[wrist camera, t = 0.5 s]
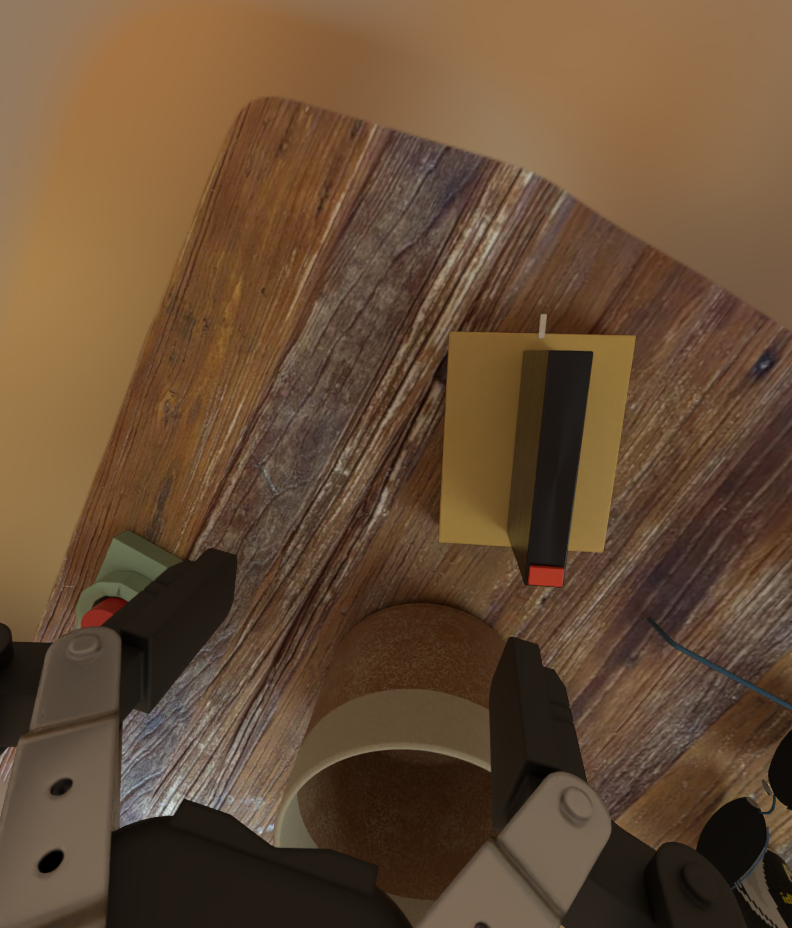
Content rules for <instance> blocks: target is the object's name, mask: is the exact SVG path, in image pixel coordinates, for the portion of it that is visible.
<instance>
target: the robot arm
mask: <svg viewBox="0 0 792 928" xmlns="http://www.w3.org/2000/svg"><path fill="white" fill-rule="evenodd" d="M236 570H237V556H236V555H234V554H231V553H228V552H224V551H221V550H217V549H214V548H209V549H208V550H206V551H205V552H204V553H203V554H202V555H201V556H200V557H199V558H198V559H197V560H196V561H194V562H193V561H190V560H185V561H182V562H180V563H178V564H175V565H173V566H171V567H168V568H167V569H166V570H165V571H164V572H163V573H161V574H160V575H159V576H158V577H157V578H156V579H155V581H152V582H151V583H150V584H149V585H147V586H146V587H145V588H144V590H143V591H140V592H139V593H138V594H137V595H136V596H135V597H133V598H132V599H131V600H130V601H129V602H128V603H126V604H125V605H124V606H123V607H122V608H121V609H119V610H118V611H117V612H116V613H115V614H114V615H112V616H111V617H110V618H109V619H108V620H107V621H105V622H104V623H103V624H102V625H101V626H91V627H84V628H80V629H76V630H74V631H71V632H69V633H67V634H65V635H63V636H61V637H60V638H58V639H57V640H56V641H55V642H54V643H38V642H12V634H11V630H10V629H9V627H8V626H6V625H5V624H2V623H0V755H1V754H2V753H3V752H4V751H5V750H6V749H7V748H8V747H17V749H16V753H15V757H14V762H13V766H12V770H11V774H10V778H9V783H8V787H7V791H6V795H5V800H4V804H3V808H2V812H1V817H0V928H559V927H560V926H561V925H562V926H564V927H565V928H747V925H746V922H745V920H744V917H743V915H742V912H741V910H740V907H739V905H738V902H737V900H736V897H735V895H734V893H733V891H732V890H731V888H730V886H729V885H728V883H727V882H726V880H725V879H724V877H723V876H722V875H721V874H720V872H719V871H718V870H717V869H716V868H715V867H714V866H713V865H712V864H711V863H710V862H709V861H708V860H707V859H706V858H705V857H704V856H702V855H701V854H700V853H698V852H697V851H695V850H694V849H692V848H690V847H688V846H686V845H684V844H681V843H678V842H666V843H664V844H662V845H661V846H660V847H659V849H658V850H657V851H656V850H654V849H653V848H651V847H650V846H648V845H647V844H645V843H643V842H642V841H640V840H639V839H637V838H636V837H634V836H633V835H631V834H630V833H628V832H626V831H625V830H624V829H622V828H621V827H619V826H618V825H617V824H616V823H615V822H613V821H612V820H611V819H610V815H609V813H608V810H607V808H606V806H605V804H604V802H603V801H602V799H601V798H600V796H599V795H598V794H597V793H596V791H595V790H594V789H593V788H592V787H591V786H590V785H589V784H588V783H587V779H586V775H585V770H584V766H583V762H582V757H581V753H580V748H579V744H578V740H577V735H576V731H575V727H574V724H573V718H572V714H571V709H569V706H570V705H569V700H568V696H567V692H566V687H565V686H564V684H563V683H562V681H561V680H560V678H559V676H558V675H557V673H556V672H555V670H554V669H550V668H547V667H544V666H542V660H541V655H540V649H539V646H538V644H535V643H532V642H528V641H525V640H521V639H518V638H515V637H509V639H508V640H507V642H506V645H505V648H504V650H503V653H502V655H501V658H500V660H499V663H498V665H497V668H496V670H495V673H494V675H493V678H492V682H491V686H490V693H489V724H490V759H491V794H492V828H493V829H494V830H497V831H500V833H499V835H498V836H497V837H496V838H495V837H494V836H491V837H490V838H489V839H488V840H487V841H486V842H485V843H484V844H483V845H482V847H481V848H480V849H479V850H478V851H477V853H476V854H475V855H474V856H473V857H472V859H471V860H470V861H469V862H468V863H467V864H466V866H465V867H464V868H463V869H462V870H461V872H460V873H459V874H458V875H457V876H456V878H455V879H454V880H453V881H452V882H451V883H450V885H449V886H448V887H447V888H446V889H445V891H444V892H443V893H442V894H441V895H440V897H439V898H438V899H437V900H436V901H435V902H434V904H433V905H432V906H431V907H430V908H429V910H428V911H427V912H426V913H425V914H424V916H423V917H422V918H421V919H420V920H419V922H418V923H417V924H416V925H415V926H414V927H412V925H411V923H410V922H409V920H408V919H407V917H406V916H405V914H404V913H403V911H402V910H401V909H400V908H399V906H398V905H397V904H396V903H395V902H394V901H393V900H392V899H391V898H390V897H389V896H388V895H387V894H386V893H385V892H384V891H383V890H382V889H380V888H379V887H378V886H376V879H377V874H378V868H379V866H378V865H375V864H372V863H370V862H367V861H364V860H361V859H358V858H355V857H352V856H349V855H346V854H343V853H340V852H338V851H335V850H332V849H320V848H280V847H274V846H272V845H270V844H269V843H267V842H266V841H265V840H263V839H262V838H261V837H259V836H258V835H257V834H255V833H254V832H253V831H251V830H250V829H249V828H247V827H246V826H245V825H244V824H242V823H241V822H240V821H238V820H237V819H236V818H234V817H233V816H232V815H230V814H227V813H224V812H222V811H219V810H216V809H213V808H210V807H207V806H204V805H201V804H198V803H195V802H193V801H190V800H187V799H183V801H182V803H181V804H180V806H179V808H178V810H177V811H176V813H175V815H174V816H161V817H153V818H149V819H145V820H140V821H137V822H134V823H132V824H129V825H126V826H124V827H121V828H120V788H121V760H122V732H123V720H124V719H125V718H126V717H127V716H128V714H129V713H130V712H131V711H132V710H133V709H136V710H139V711H142V712H145V713H148V714H149V713H150V712H151V711H152V710H153V708H154V707H155V706H156V705H157V703H158V702H159V701H160V700H161V698H162V697H163V696H164V695H165V693H166V692H167V691H168V690H169V688H170V687H171V686H172V685H173V683H174V682H175V681H176V680H177V678H178V677H179V676H180V675H181V673H182V672H183V671H184V670H185V668H186V667H187V666H188V665H189V663H190V662H191V661H192V660H193V658H194V657H195V656H196V655H197V653H198V652H199V651H200V650H201V648H202V647H203V646H204V645H205V643H206V642H207V641H208V640H209V638H210V637H211V636H212V635H213V633H214V632H215V631H216V630H217V628H218V627H219V626H220V625H221V623H222V622H223V621H224V619H225V618H226V617H227V615H228V613H229V611H230V609H231V606H232V603H233V599H234V590H235V580H236Z"/></svg>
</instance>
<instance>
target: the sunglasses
mask: <svg viewBox="0 0 792 928" xmlns="http://www.w3.org/2000/svg"><path fill="white" fill-rule="evenodd" d="M648 621H649V622H650V623H651V625H652V626H653V627H654V628H655V629H656V630H657V631H658V632H659V633H660V634H661V636H662V637H663V638H664V639H665V640H666V641H667V642H668V643H669V644H670V645H671V646H673V647H674V648H676V649H677V650H679V651H681V652H683V653H685V654H687V655H688V656H690V657H692V658H694V659H696V660H698V661H699V662H701V663H703V664H705V665H707V666H709V667H711V668H713V669H714V670H716V671H718V672H720V673H722V674H724V675H726V676H728V677H729V678H731V679H733V680H735V681H737V682H739V683H741V684H743V685H744V686H746V687H748V688H750V689H752V690H754V691H756V692H758V693H760V694H761V695H763V696H765V697H767V698H769V699H771V700H773V701H775V702H777V703H779V704H780V705H782V706H784V707H786V708H788V709H790V710H792V705H791V704H789V703H787V702H786V701H784V700H782V699H780V698H778V697H776V696H774V695H773V694H771V693H769V692H767V691H765V690H763V689H761V688H759V687H758V686H756V685H754V684H752V683H750V682H748V681H746V680H744V679H743V678H741V677H739V676H737V675H735V674H733V673H731V672H729V671H728V670H726V669H724V668H722V667H720V666H718V665H716V664H714V663H712V662H711V661H709V660H707V659H705V658H703V657H701V656H699V655H697V654H696V653H694V652H692V651H690V650H688V649H686V648H684V647H683V646H681V645H679V644H677V643H676V642H675V641H673V640H672V639H671V638H670V637H669V636H668V635H667V634H666V633H665V632H664V631H663V630H662V629H661V628H660V627H659V626H658V625H657V624H656V623H655V622H654V621H653V620H651V619H648ZM768 778H769V783H770V786H771V788H772V790H773V792H774V795H773V805H772V808H771V809H770V810H769V811H768V812H761V810H760V809H759V808H760V807H759V805H758V804H757V803H756V802H755V801H754V800H752V799H751V798H749V797H742V798H738V799H736V800H733V801H731V802H729V803H727V804H725V805H724V806H723V807H721V808H720V809H719V810H718V811H717V812H716V813H715V814H714V815H713V816H712V817H711V818H710V820H709V821H708V822H707V824H706V825H705V827H704V828H703V831H702V833H701V835H700V838H699V841H698V845H697V849H696V851H697V852H698V853H700V854H701V855H702V856H704V857H705V858H706V859H707V860H708V861H709V862H710V863H711V864H712V865H713V866H714V867H715V868H716V869H717V870H718V871H719V872H720V874H721V875H722V876H723V877H724V879H725V880H726V882H727V883H728V885H729V886H731V885H733V884H734V883H735V882H736V881H738V880H739V879H740V878H741V877H742V876H743V875H744V874H745V873H746V872H747V871H748V870H749V869H750V868H751V866H752V865H753V864H754V863H755V861H756V860H757V858H758V857H759V855H760V854H761V852H762V851H763V848H764V846H765V849H764V851H763V853H762V854H761V856H760V858H759V859H758V861H757V862H756V864H755V865H754V866H753V868H752V869H751V870H750V871H749V872H748V873H747V874H746V875H745V876H744V877H743V878H742V879H741V880H740V881H739V882H738V883H737V884H736V885H734V886H733V887H731V890H732V889H734V888H735V887H736V886H738V885H739V884H740V883H741V882H742V881H743V880H744V879H745V878H746V877H747V876H748V875H749V874H750V873H751V872H752V871H753V870H754V869H755V867H756V866H757V865H758V863H759V862H760V860H761V859H762V857H763V856H764V854H765V852H766V850H767V846H768V841H769V830H768V826H767V831H766V823H765V819H764V816H763V814H771V813H772V812H773V811H774V809H775V803H776V797H777V799H778V800H779V801H780V802H781V803H783V804H784V805H786V806H788V807H787V809H789V810H792V730H791V731H790V732H789V733H788V734H787V735H786V736H785V738H784V739H783V740H782V741H781V743H780V745H779V746H778V748H777V750H776V752H775V754H774V756H773V759H772V761H771V764H770V767H769V771H768ZM762 784H763V787H764V789H765V791H766V792H767V793H768V795H770V796H772V793H771V790H770V788H769V786H768V784H767V783H766V781H765V780H762ZM766 835H767V840H766ZM765 843H766V845H765Z"/></svg>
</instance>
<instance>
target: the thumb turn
mask: <svg viewBox="0 0 792 928" xmlns="http://www.w3.org/2000/svg"><path fill="white" fill-rule="evenodd" d="M593 354H594V353H593V351H572V350H524V351H523V359H522V370H521V381H520V392H519V402H518V413H517V424H516V435H515V446H514V457H513V467H512V478H511V489H510V500H509V511H508V521H507V532H506V533H507V535H508V538H509V541H510V544H511V547H512V550H513V553H514V555H515V558H516V561H517V564H518V567H519V570H520V572H521V575H522V578H523V581H524V584H525V585H533V586H546V587H560V588H562V587H563V584H564V577H565V569H566V561H567V554H568V546H569V538H570V531H571V523H572V515H573V507H574V500H575V492H576V484H577V477H578V469H579V461H580V454H581V446H582V438H583V431H584V423H585V415H586V407H587V400H588V392H589V384H590V377H591V369H592V361H593Z"/></svg>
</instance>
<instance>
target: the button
mask: <svg viewBox="0 0 792 928" xmlns="http://www.w3.org/2000/svg"><path fill="white" fill-rule="evenodd" d="M126 603H128V601H126V600H124V599H122V598H118V597H111V598H107V599H105V600H103V601H102V602H100V603H99V604H98V605H96V606H95V607H94V608H92V609H91V610H89V611H88V612H87V613H86V614H85V615H84V616H83V618H82V620H81V628H84V627H91V626H101V625H102V624H103V623H104V622H105V621H107V620H108V619H109V618H110V617H111V616H112V615H114V614H115V613H116V612H117V611H118V610H119V609H121V608H122V607H123V606H124V605H125V604H126Z"/></svg>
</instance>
